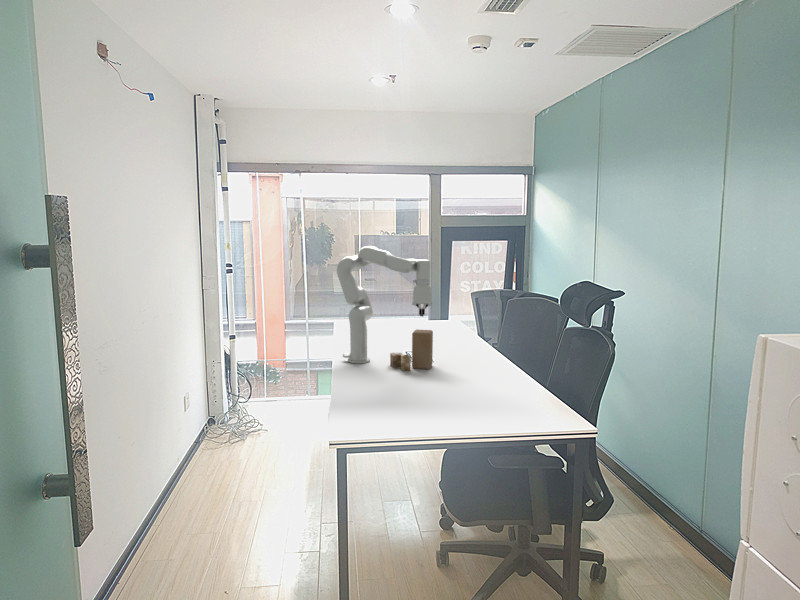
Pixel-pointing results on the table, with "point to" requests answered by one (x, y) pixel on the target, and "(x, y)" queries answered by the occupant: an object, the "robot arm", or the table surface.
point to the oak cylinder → (405, 362)
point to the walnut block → (395, 360)
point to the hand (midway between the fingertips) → (421, 316)
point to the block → (422, 349)
